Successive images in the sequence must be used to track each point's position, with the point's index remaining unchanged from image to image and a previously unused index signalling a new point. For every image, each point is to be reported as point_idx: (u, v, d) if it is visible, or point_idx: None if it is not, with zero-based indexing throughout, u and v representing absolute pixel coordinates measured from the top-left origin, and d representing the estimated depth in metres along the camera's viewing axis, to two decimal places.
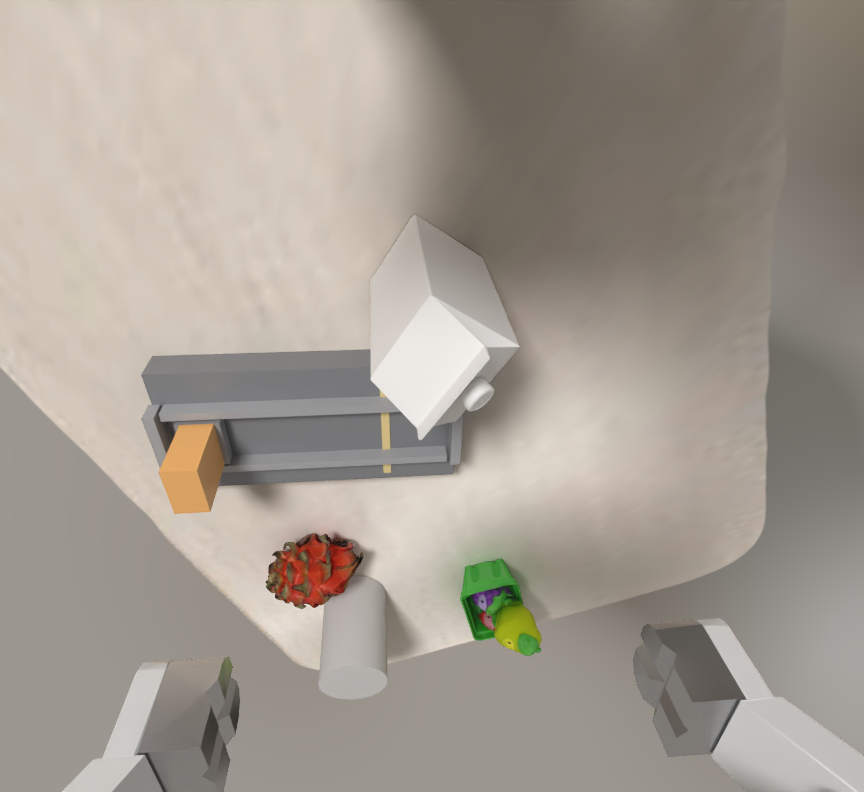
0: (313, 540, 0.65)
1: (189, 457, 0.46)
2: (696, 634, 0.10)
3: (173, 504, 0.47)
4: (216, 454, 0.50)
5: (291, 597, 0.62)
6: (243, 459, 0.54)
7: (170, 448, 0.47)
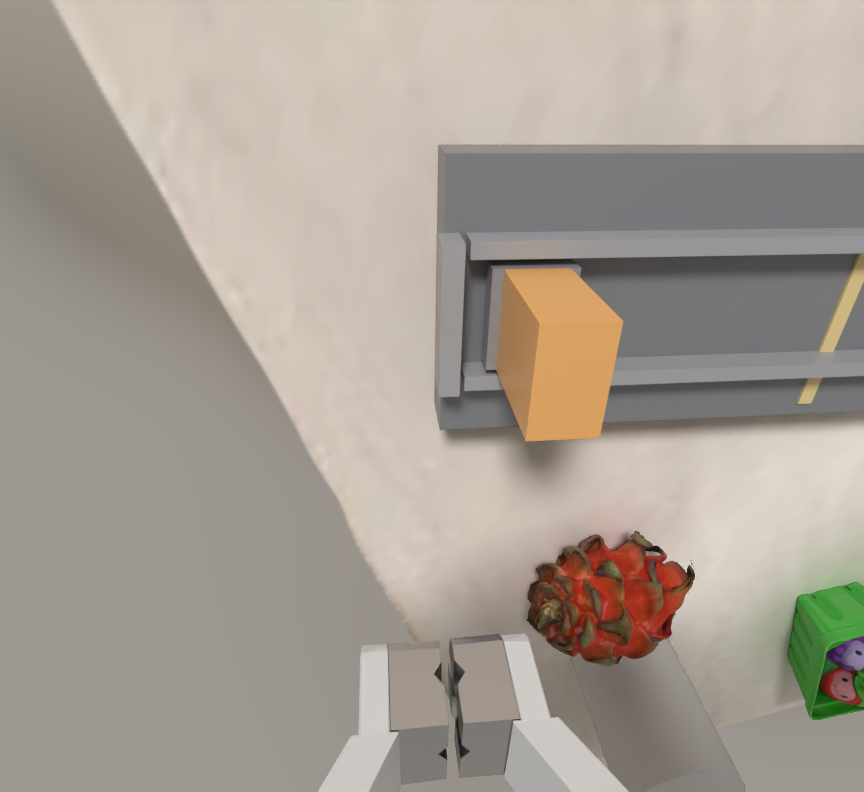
0: (604, 545, 0.38)
1: (583, 305, 0.20)
2: (493, 650, 0.10)
3: (533, 416, 0.21)
4: None
5: (590, 646, 0.35)
6: None
7: (523, 294, 0.21)
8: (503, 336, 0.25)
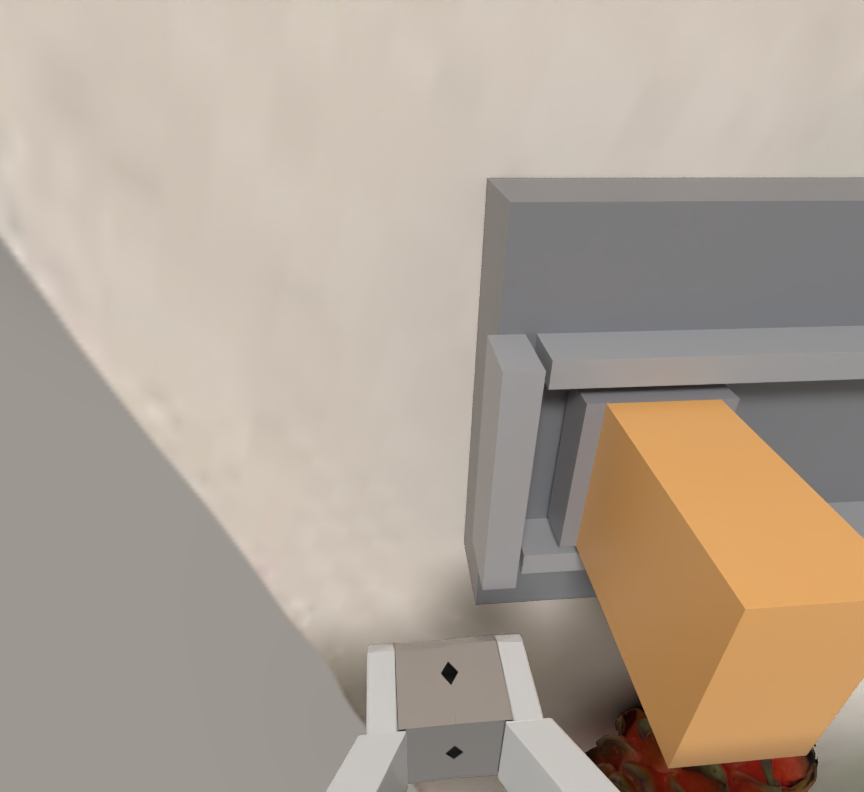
0: None
1: (803, 528, 0.10)
2: (486, 650, 0.10)
3: (692, 738, 0.11)
4: None
5: None
6: None
7: (667, 486, 0.11)
8: (600, 513, 0.14)
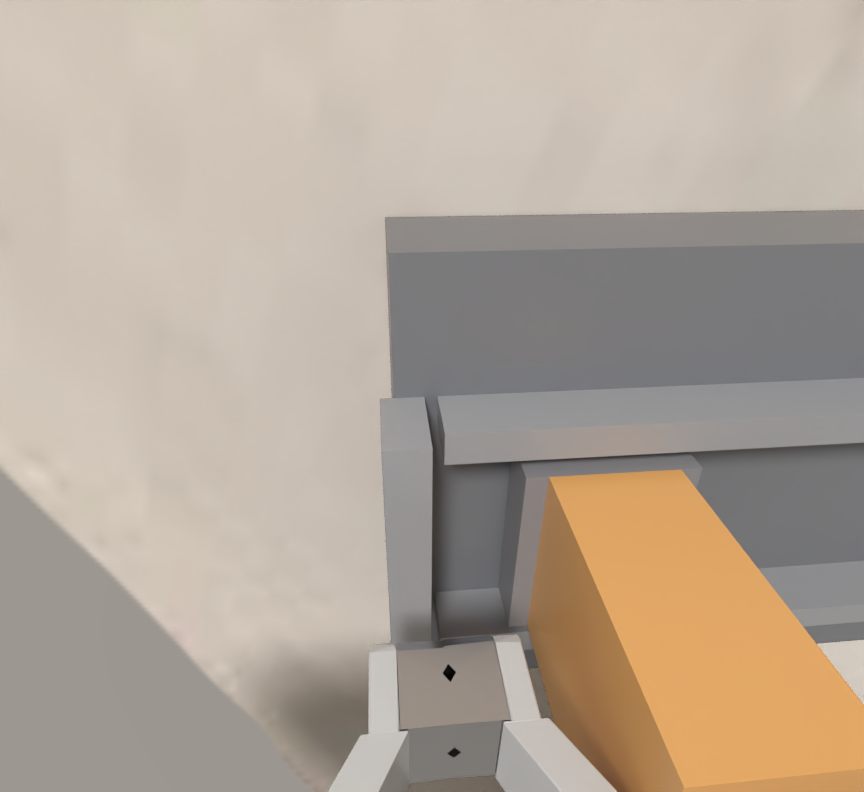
0: None
1: (764, 656, 0.08)
2: (484, 651, 0.10)
3: None
4: None
5: None
6: None
7: (605, 595, 0.09)
8: (546, 599, 0.12)
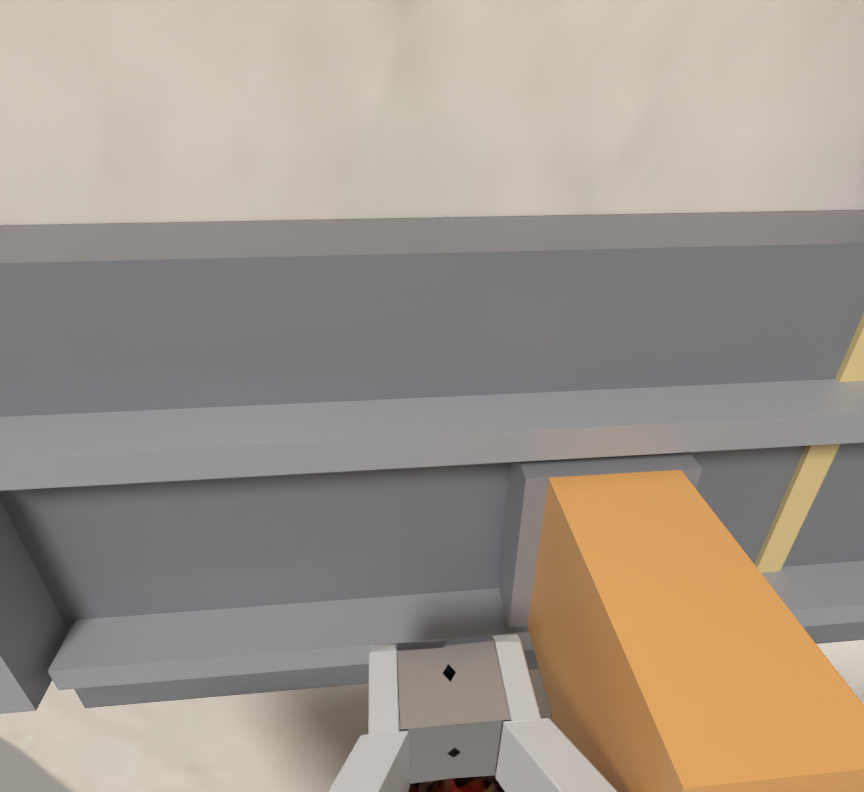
0: None
1: (764, 657, 0.08)
2: (484, 651, 0.10)
3: None
4: None
5: None
6: (294, 623, 0.15)
7: (605, 595, 0.09)
8: (546, 600, 0.12)
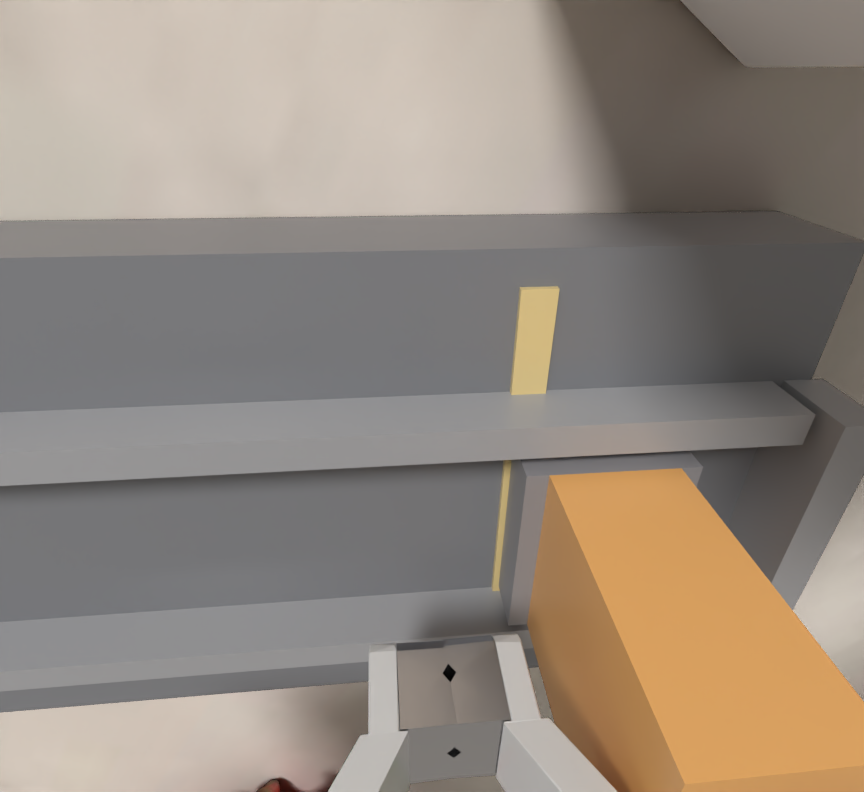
0: None
1: (764, 654, 0.08)
2: (484, 651, 0.10)
3: None
4: None
5: None
6: None
7: (606, 593, 0.09)
8: (546, 598, 0.12)
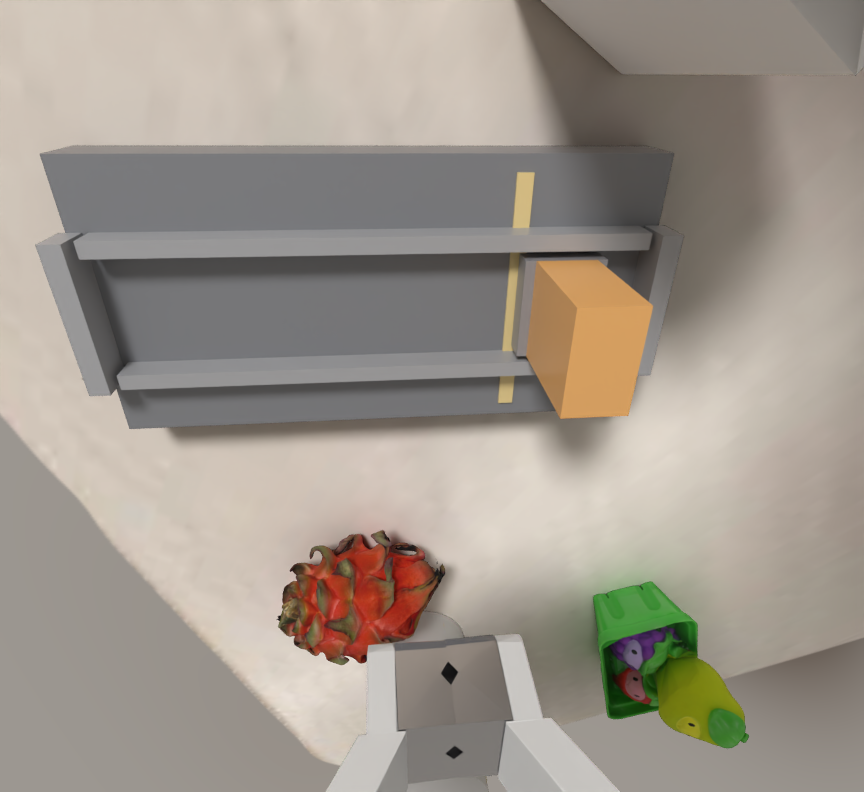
0: (359, 544, 0.38)
1: (614, 292, 0.22)
2: (486, 651, 0.10)
3: (568, 395, 0.23)
4: None
5: (324, 644, 0.35)
6: (244, 364, 0.28)
7: (557, 283, 0.23)
8: (535, 323, 0.26)
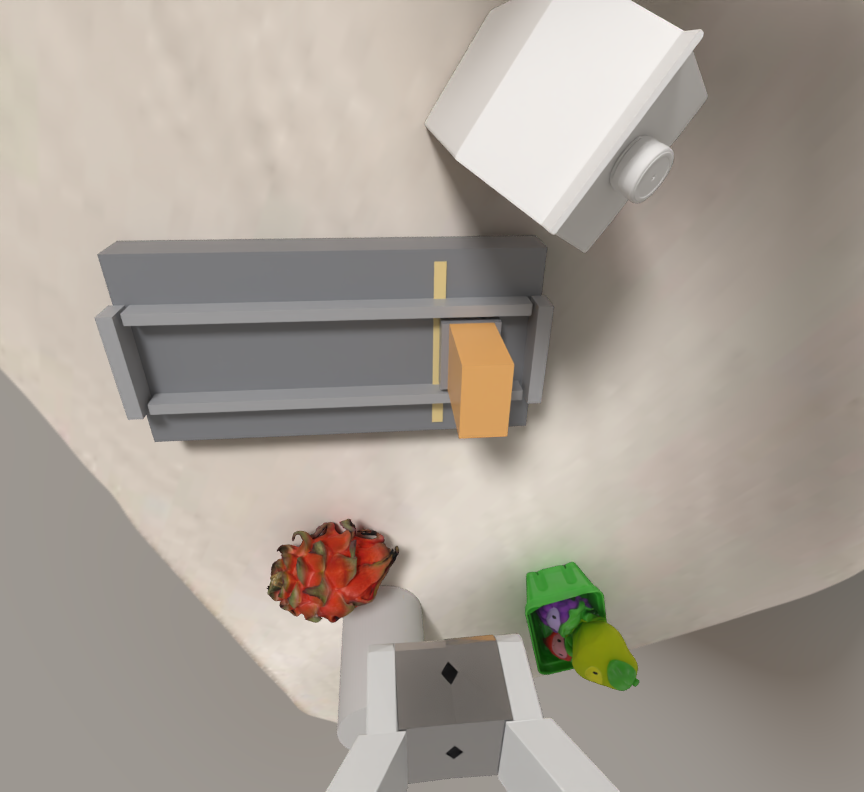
0: (332, 530, 0.49)
1: (493, 352, 0.32)
2: (486, 651, 0.10)
3: (462, 422, 0.33)
4: None
5: (302, 607, 0.45)
6: (240, 395, 0.38)
7: (457, 344, 0.33)
8: (449, 368, 0.37)
